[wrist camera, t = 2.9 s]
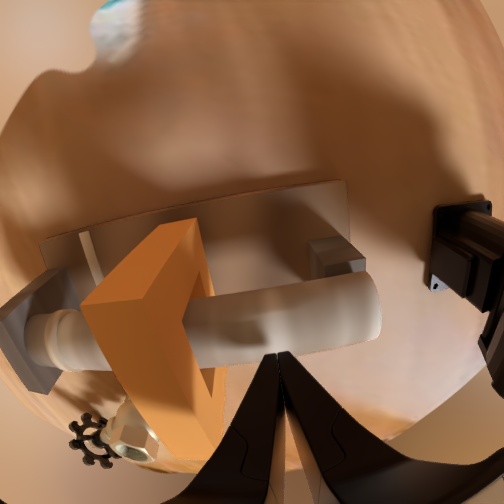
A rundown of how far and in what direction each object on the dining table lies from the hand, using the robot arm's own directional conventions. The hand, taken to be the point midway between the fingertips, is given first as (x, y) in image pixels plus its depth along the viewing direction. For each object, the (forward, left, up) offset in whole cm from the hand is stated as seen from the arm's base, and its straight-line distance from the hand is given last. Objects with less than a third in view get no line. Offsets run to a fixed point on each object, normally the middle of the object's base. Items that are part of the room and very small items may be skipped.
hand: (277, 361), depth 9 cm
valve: (+15, +13, -9) cm, 22 cm away
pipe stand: (+5, 0, -8) cm, 10 cm away
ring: (+4, 0, -6) cm, 7 cm away
